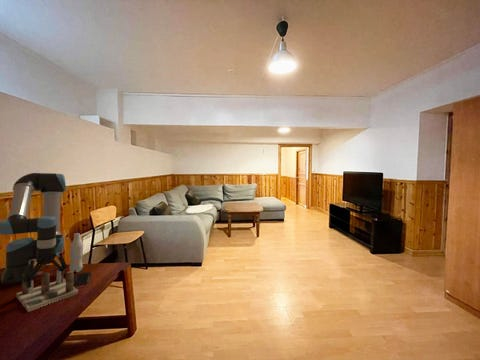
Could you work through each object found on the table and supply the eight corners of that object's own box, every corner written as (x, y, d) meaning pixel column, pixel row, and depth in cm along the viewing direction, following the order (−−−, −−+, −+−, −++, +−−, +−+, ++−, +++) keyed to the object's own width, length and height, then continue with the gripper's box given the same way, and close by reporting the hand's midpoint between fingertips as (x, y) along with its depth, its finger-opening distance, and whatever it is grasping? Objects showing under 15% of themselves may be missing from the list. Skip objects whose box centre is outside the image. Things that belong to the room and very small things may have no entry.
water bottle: (79, 268, 150) (80, 231, 149) (84, 270, 146) (85, 233, 145) (66, 271, 144) (68, 233, 143) (72, 274, 140) (73, 235, 139)
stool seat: (16, 297, 114) (17, 274, 113) (63, 282, 130) (64, 262, 130) (28, 312, 103) (28, 286, 102) (78, 293, 119) (78, 272, 119)
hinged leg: (47, 289, 118) (48, 271, 117) (59, 294, 113) (59, 276, 113) (39, 292, 114) (39, 274, 114) (50, 298, 110) (51, 279, 110)
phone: (91, 272, 143) (88, 282, 130) (91, 273, 143) (88, 284, 130) (76, 274, 139) (72, 285, 126) (76, 276, 139) (72, 287, 126)
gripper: (67, 239, 127) (66, 276, 128) (12, 252, 105) (11, 296, 106) (75, 241, 124) (74, 279, 125) (20, 255, 102) (19, 301, 103)
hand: (45, 287), depth 115 cm, fingers open, 11 cm apart
